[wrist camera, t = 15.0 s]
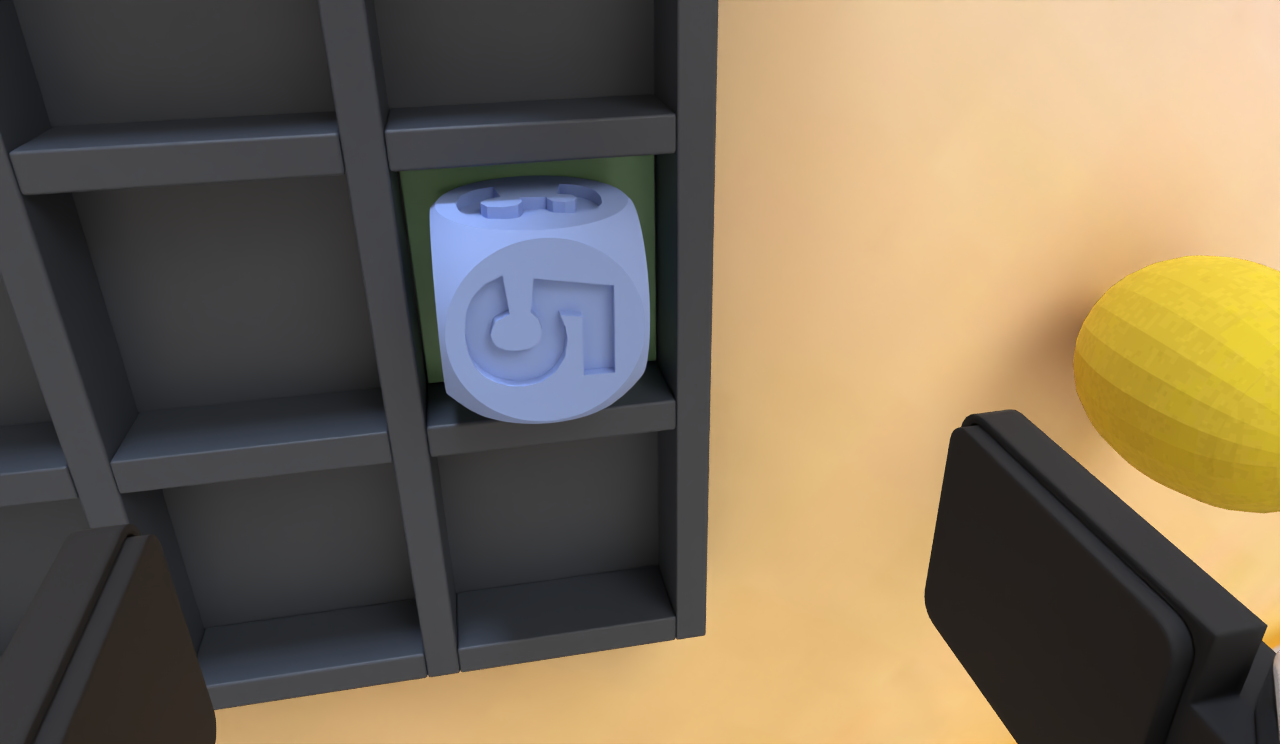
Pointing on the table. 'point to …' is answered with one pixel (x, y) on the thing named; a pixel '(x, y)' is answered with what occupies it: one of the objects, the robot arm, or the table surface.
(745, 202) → the table surface
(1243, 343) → the lemon
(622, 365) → the decorative dice
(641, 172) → the grid tray
